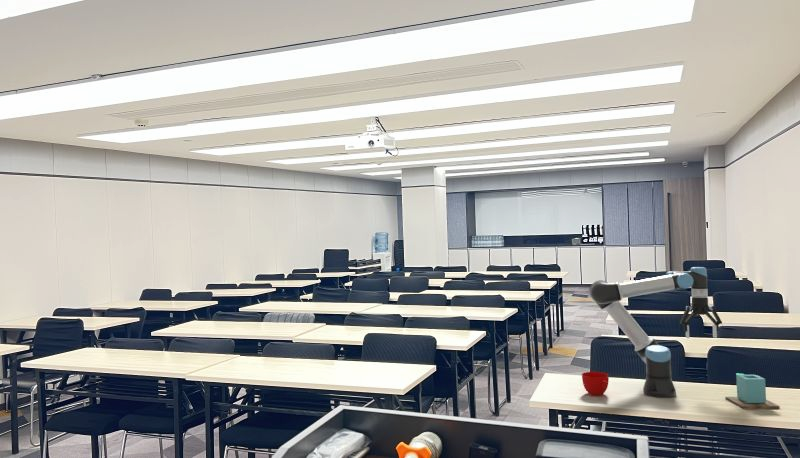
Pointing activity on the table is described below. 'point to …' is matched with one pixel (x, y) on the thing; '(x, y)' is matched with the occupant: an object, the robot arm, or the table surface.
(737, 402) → the board
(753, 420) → the table surface
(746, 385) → the teal open-top box
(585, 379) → the ceramic cup
